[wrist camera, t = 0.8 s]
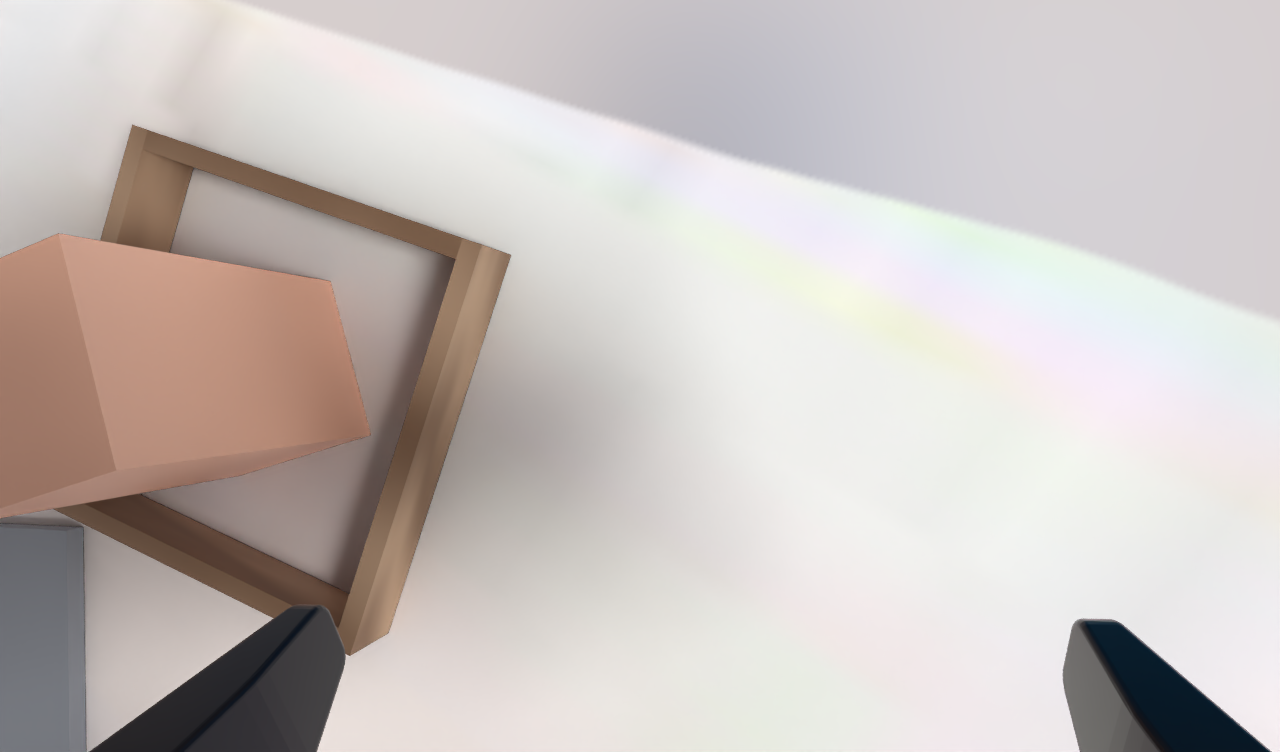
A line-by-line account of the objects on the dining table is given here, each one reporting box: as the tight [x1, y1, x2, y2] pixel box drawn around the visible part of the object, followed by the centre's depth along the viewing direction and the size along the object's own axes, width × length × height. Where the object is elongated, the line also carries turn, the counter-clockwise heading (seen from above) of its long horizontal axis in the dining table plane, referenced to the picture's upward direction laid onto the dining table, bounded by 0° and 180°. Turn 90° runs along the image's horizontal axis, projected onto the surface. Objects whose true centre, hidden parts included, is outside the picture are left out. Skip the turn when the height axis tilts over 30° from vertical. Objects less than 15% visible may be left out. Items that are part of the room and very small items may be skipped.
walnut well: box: [54, 125, 511, 656], centre depth 24 cm, size 12×12×2 cm
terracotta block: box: [0, 233, 371, 518], centre depth 21 cm, size 5×5×9 cm
